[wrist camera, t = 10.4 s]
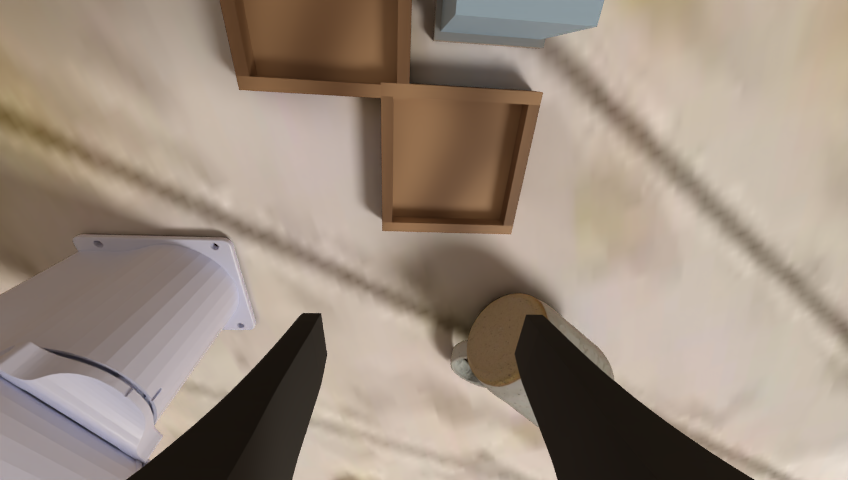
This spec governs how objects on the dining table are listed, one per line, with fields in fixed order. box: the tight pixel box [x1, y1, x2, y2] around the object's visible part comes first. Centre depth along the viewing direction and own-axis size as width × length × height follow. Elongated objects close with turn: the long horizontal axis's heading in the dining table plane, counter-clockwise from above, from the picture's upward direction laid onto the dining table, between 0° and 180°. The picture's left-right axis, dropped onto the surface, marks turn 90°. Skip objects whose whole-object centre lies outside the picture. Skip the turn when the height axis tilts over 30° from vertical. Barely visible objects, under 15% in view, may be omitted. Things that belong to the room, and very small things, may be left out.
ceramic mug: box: [451, 293, 614, 427], centre depth 22 cm, size 11×8×8 cm
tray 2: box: [381, 82, 543, 234], centre depth 18 cm, size 8×8×1 cm
